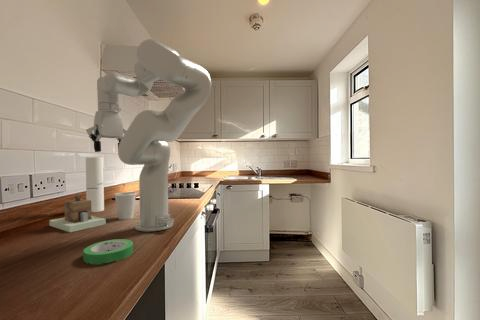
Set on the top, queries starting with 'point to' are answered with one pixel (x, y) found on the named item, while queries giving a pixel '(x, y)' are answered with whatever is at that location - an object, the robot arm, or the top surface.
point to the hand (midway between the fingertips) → (109, 151)
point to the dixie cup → (125, 204)
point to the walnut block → (77, 209)
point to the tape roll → (118, 247)
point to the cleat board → (77, 223)
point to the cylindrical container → (95, 183)
